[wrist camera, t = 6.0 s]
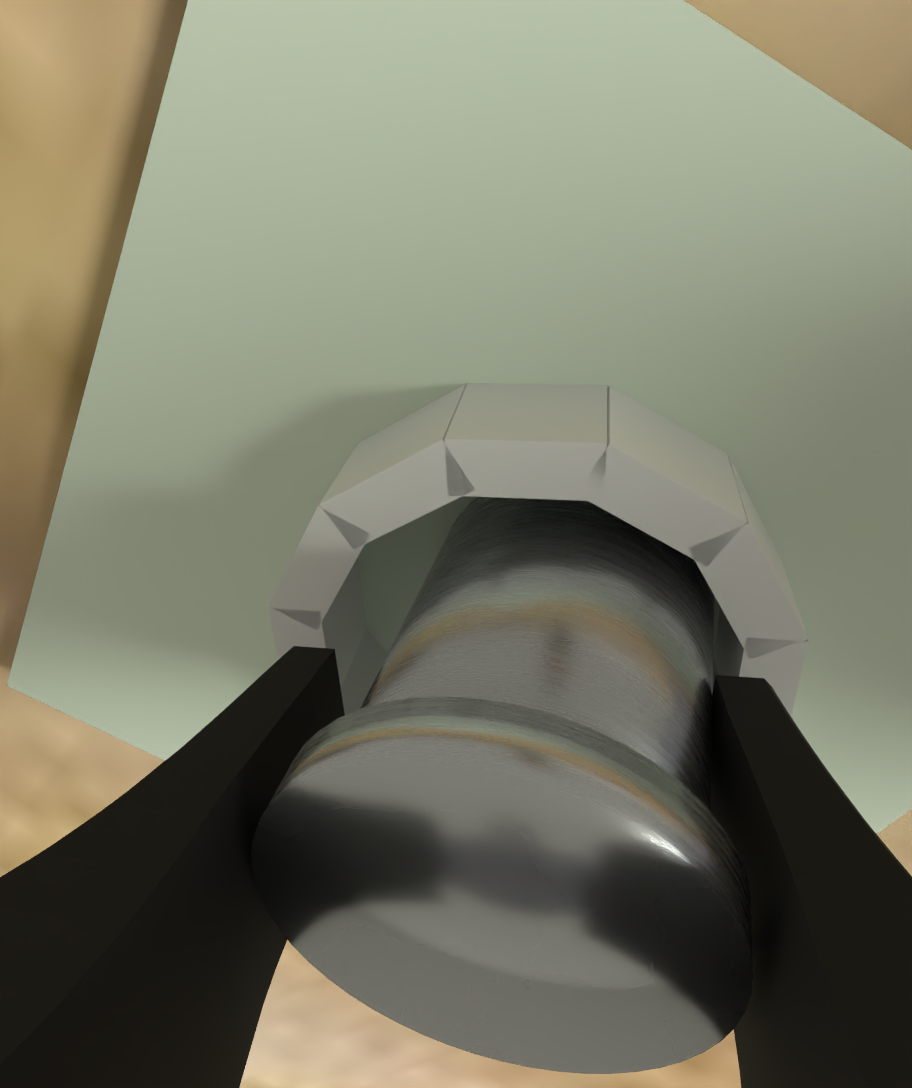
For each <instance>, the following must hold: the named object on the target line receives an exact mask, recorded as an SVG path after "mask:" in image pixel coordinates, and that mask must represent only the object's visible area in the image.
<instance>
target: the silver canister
mask: <svg viewBox="0 0 912 1088" xmlns="http://www.w3.org/2000/svg"><path fill="white" fill-rule="evenodd" d="M713 643H714V594H713V592H712V590H711V589H710V587H709V585H708V583H707V581H706V580H705V578H704V576H703V574H702V573H701V571H700V569H699V567H698V565H697V564H696V562H695V560H694V559H692V558H690V557H688V556H687V555H685V554H683V553H681V552H679V551H678V550H676V549H674V548H672V547H670V546H669V545H667V544H665V543H663V542H661V541H660V540H658V539H656V538H654V537H652V536H651V535H649V534H647V533H645V532H643V531H642V530H640V529H638V528H636V527H634V526H633V525H631V524H629V523H627V522H625V521H624V520H622V519H620V518H618V517H616V516H615V515H613V514H611V513H609V512H607V511H605V510H604V509H602V508H600V507H598V506H596V505H595V504H593V503H591V502H589V501H580V500H553V499H526V498H499V497H478V498H477V499H475V500H474V501H473V502H471V503H470V504H469V505H468V506H467V508H466V509H465V510H464V511H463V512H462V513H461V514H460V515H459V517H458V518H457V520H456V521H455V523H454V524H453V526H452V527H451V529H450V531H449V533H448V535H447V537H446V539H445V541H444V543H443V545H442V547H441V549H440V551H439V553H438V555H437V557H436V559H435V561H434V563H433V565H432V567H431V569H430V571H429V573H428V575H427V577H426V579H425V581H424V583H423V585H422V587H421V589H420V591H419V593H418V595H417V597H416V599H415V601H414V603H413V605H412V607H411V609H410V611H409V613H408V615H407V617H406V619H405V621H404V623H403V625H402V627H401V629H400V631H399V633H398V635H397V637H396V638H395V640H394V642H393V644H392V646H391V648H390V650H389V652H388V654H387V656H386V658H385V660H384V662H383V664H382V666H381V668H380V670H379V672H378V674H377V676H376V678H375V680H374V682H373V684H372V686H371V688H370V690H369V692H368V694H367V696H366V698H365V700H364V702H363V704H362V706H361V708H360V709H358V710H356V711H354V712H351V713H349V714H347V715H345V716H342V717H340V718H338V719H336V720H334V721H333V722H331V723H330V724H328V725H327V726H325V727H324V728H322V729H321V730H319V731H318V732H317V733H316V734H315V735H314V736H313V737H311V738H310V739H309V740H308V741H307V742H306V743H305V744H304V745H303V747H302V748H301V750H300V751H299V753H298V754H297V756H296V757H295V759H294V760H293V762H292V763H291V765H290V767H289V769H288V771H287V772H286V774H285V776H284V778H283V780H282V781H281V783H280V785H279V787H278V789H277V790H276V792H275V794H274V796H273V798H272V799H271V801H270V803H269V805H268V806H267V808H266V810H265V812H264V814H263V815H262V817H261V819H260V821H259V823H258V826H257V829H256V831H255V834H254V837H253V843H252V852H251V860H252V870H253V876H254V879H255V883H256V886H257V889H258V892H259V894H260V897H261V899H262V901H263V903H264V905H265V907H266V909H267V911H268V913H269V914H270V916H271V917H272V919H273V920H274V922H275V923H276V925H277V927H278V928H279V929H280V931H281V932H282V933H283V934H284V936H285V937H286V938H287V939H288V940H289V942H290V943H291V944H292V945H293V946H294V947H295V948H296V949H297V950H298V951H299V953H300V954H301V955H302V956H303V957H304V958H305V959H306V960H307V961H308V962H309V963H310V964H312V965H313V966H314V967H315V968H316V969H317V970H319V971H320V972H321V973H322V974H323V975H324V976H326V977H327V978H328V979H329V980H331V981H332V982H333V983H335V984H336V985H337V986H339V987H340V988H341V989H343V990H344V991H345V992H347V993H348V994H350V995H351V996H353V997H354V998H356V999H357V1000H359V1001H361V1002H362V1003H364V1004H365V1005H367V1006H368V1007H370V1008H372V1009H373V1010H375V1011H377V1012H379V1013H381V1014H382V1015H384V1016H386V1017H388V1018H390V1019H391V1020H393V1021H395V1022H397V1023H399V1024H401V1025H403V1026H405V1027H408V1028H410V1029H412V1030H414V1031H416V1032H418V1033H420V1034H423V1035H425V1036H427V1037H430V1038H432V1039H435V1040H437V1041H440V1042H442V1043H445V1044H447V1045H450V1046H453V1047H456V1048H459V1049H462V1050H465V1051H468V1052H471V1053H474V1054H477V1055H481V1056H484V1057H488V1058H491V1059H495V1060H499V1061H503V1062H507V1063H512V1064H517V1065H521V1066H526V1067H531V1068H538V1069H545V1070H551V1071H559V1072H572V1073H585V1074H613V1073H627V1072H638V1071H644V1070H650V1069H656V1068H661V1067H665V1066H668V1065H672V1064H675V1063H679V1062H682V1061H685V1060H687V1059H689V1058H692V1057H694V1056H696V1055H699V1054H701V1053H703V1052H705V1051H706V1050H708V1049H710V1048H711V1047H713V1046H714V1045H716V1044H717V1043H719V1042H720V1041H722V1040H723V1039H724V1038H725V1037H726V1036H727V1035H728V1034H729V1033H730V1032H731V1031H732V1030H733V1029H734V1028H735V1027H736V1025H737V1024H738V1022H739V1021H740V1019H741V1018H742V1016H743V1015H744V1013H745V1012H746V1009H747V1006H748V1003H749V1000H750V997H751V994H752V979H753V961H752V925H751V894H750V888H749V883H748V877H747V872H746V870H745V867H744V865H743V862H742V860H741V857H740V854H739V852H738V850H737V848H736V846H735V845H734V843H733V841H732V840H731V838H730V837H729V835H728V833H727V832H726V830H725V828H724V827H723V826H722V824H721V823H720V822H719V821H718V820H717V818H716V817H715V816H714V815H713V814H712V812H711V811H710V807H711V752H712V694H713Z"/></svg>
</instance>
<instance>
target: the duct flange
mask: <svg viewBox="0 0 912 1088" xmlns="http://www.w3.org/2000/svg"><path fill="white" fill-rule="evenodd" d="M478 497H499V498H526V499H553V500H580V501H589V502H591V503H593V504H595V505H596V506H598V507H600V508H602V509H604V510H605V511H607V512H609V513H611V514H613V515H615V516H616V517H618V518H620V519H622V520H624V521H625V522H627V523H629V524H631V525H633V526H634V527H636V528H638V529H640V530H642V531H643V532H645V533H647V534H649V535H651V536H652V537H654V538H656V539H658V540H660V541H661V542H663V543H665V544H667V545H669V546H670V547H672V548H674V549H676V550H678V551H679V552H681V553H683V554H685V555H687V556H688V557H690V558H692V559H694V560H695V562H696V564H697V565H698V567H699V569H700V571H701V573H702V574H703V576H704V578H705V580H706V581H707V583H708V585H709V587H710V589H711V590H712V592H713V594H714V643H713V688H714V681H715V675H723V676H738V677H752V678H764V679H765V680H766V681H767V682H768V683H769V684H770V685H771V686H772V688H773V689H774V691H775V692H776V694H777V696H778V697H779V699H780V700H781V702H782V704H783V705H784V707H785V708H786V710H787V711H788V713H789V714H790V716H791V718H792V719H793V721H794V722H795V724H796V725H797V727H798V728H799V730H800V731H801V733H802V734H803V736H804V737H805V738H806V740H807V741H808V743H809V744H810V746H811V747H812V749H813V750H814V752H815V753H816V754H817V756H818V757H819V759H820V760H821V762H822V763H823V764H824V766H825V767H826V769H827V770H828V771H829V773H830V774H831V775H832V777H833V778H834V780H835V781H836V782H837V784H838V785H839V786H840V787H841V789H842V790H843V791H844V793H845V794H846V795H847V797H848V798H849V799H850V801H851V802H852V803H853V805H854V806H855V807H856V809H857V810H858V811H859V813H860V814H861V815H862V817H863V818H864V819H865V820H866V822H867V823H868V824H869V826H870V827H871V828H872V829H873V831H874V832H875V833H876V834H877V833H879V832H880V831H882V830H883V829H884V828H886V827H887V826H888V825H890V824H891V823H893V822H894V821H895V820H897V819H898V818H899V817H901V816H902V815H904V814H905V813H906V812H908V811H909V810H910V809H912V150H911V149H910V148H908V147H907V146H905V145H904V144H902V143H901V142H899V141H898V140H896V139H895V138H893V137H892V136H890V135H888V134H887V133H885V132H884V131H882V130H881V129H879V128H878V127H876V126H875V125H873V124H872V123H870V122H869V121H867V120H866V119H864V118H862V117H861V116H859V115H858V114H856V113H855V112H853V111H852V110H850V109H849V108H847V107H846V106H844V105H843V104H841V103H840V102H838V101H836V100H835V99H833V98H832V97H830V96H829V95H827V94H826V93H824V92H823V91H821V90H820V89H818V88H817V87H815V86H814V85H812V84H810V83H809V82H807V81H806V80H804V79H803V78H801V77H800V76H798V75H797V74H795V73H794V72H792V71H791V70H789V69H788V68H786V67H784V66H783V65H781V64H780V63H778V62H777V61H775V60H774V59H772V58H771V57H769V56H768V55H766V54H765V53H763V52H762V51H760V50H758V49H757V48H755V47H754V46H752V45H751V44H749V43H748V42H746V41H745V40H743V39H742V38H740V37H739V36H737V35H736V34H734V33H732V32H731V31H729V30H728V29H726V28H725V27H723V26H722V25H720V24H719V23H717V22H716V21H714V20H713V19H711V18H710V17H708V16H706V15H705V14H703V13H702V12H700V11H699V10H697V9H696V8H694V7H693V6H691V5H690V4H688V3H687V2H685V1H684V0H188V2H187V6H186V10H185V14H184V17H183V21H182V25H181V29H180V33H179V36H178V40H177V44H176V48H175V51H174V55H173V59H172V63H171V67H170V70H169V74H168V78H167V82H166V86H165V89H164V93H163V97H162V101H161V104H160V108H159V112H158V116H157V120H156V123H155V127H154V131H153V135H152V138H151V142H150V146H149V150H148V154H147V157H146V161H145V165H144V169H143V172H142V176H141V180H140V184H139V188H138V191H137V195H136V199H135V203H134V206H133V210H132V214H131V218H130V222H129V225H128V229H127V233H126V237H125V240H124V244H123V248H122V252H121V256H120V259H119V263H118V267H117V271H116V274H115V278H114V282H113V286H112V290H111V293H110V297H109V301H108V305H107V308H106V312H105V316H104V320H103V324H102V327H101V331H100V335H99V339H98V343H97V346H96V350H95V354H94V358H93V361H92V365H91V369H90V373H89V377H88V380H87V384H86V388H85V392H84V395H83V399H82V403H81V407H80V411H79V414H78V418H77V422H76V426H75V429H74V433H73V437H72V441H71V445H70V448H69V452H68V456H67V460H66V463H65V467H64V471H63V475H62V479H61V482H60V486H59V490H58V494H57V497H56V501H55V505H54V509H53V513H52V516H51V520H50V524H49V528H48V531H47V535H46V539H45V543H44V547H43V550H42V554H41V558H40V562H39V565H38V569H37V573H36V577H35V581H34V584H33V588H32V592H31V596H30V600H29V603H28V607H27V611H26V615H25V618H24V622H23V626H22V630H21V634H20V637H19V641H18V645H17V649H16V652H15V656H14V660H13V664H12V668H11V671H10V675H9V679H8V683H7V686H8V687H10V688H12V689H14V690H17V691H19V692H21V693H23V694H25V695H27V696H29V697H31V698H33V699H36V700H38V701H40V702H42V703H44V704H46V705H48V706H50V707H52V708H55V709H57V710H59V711H61V712H63V713H65V714H67V715H69V716H72V717H74V718H76V719H78V720H80V721H82V722H84V723H86V724H88V725H91V726H93V727H95V728H97V729H99V730H101V731H103V732H105V733H107V734H110V735H112V736H114V737H116V738H118V739H120V740H122V741H124V742H127V743H129V744H131V745H133V746H135V747H137V748H139V749H141V750H143V751H146V752H148V753H150V754H152V755H154V756H156V757H158V758H160V759H162V760H165V761H166V760H167V759H168V758H169V757H170V756H172V755H173V754H174V753H175V752H177V751H178V750H179V749H180V748H181V747H182V746H184V745H185V744H186V743H187V742H188V741H189V740H190V739H192V738H193V737H194V736H195V735H196V734H197V733H198V732H200V731H201V730H202V729H203V728H204V727H205V726H206V725H207V724H209V723H210V722H211V721H212V720H213V719H214V718H215V717H216V716H218V715H219V714H220V713H221V712H222V711H223V710H224V709H225V708H226V707H228V706H229V705H230V704H231V703H232V702H233V701H234V700H235V699H236V698H237V697H238V696H240V695H241V694H242V693H243V692H244V691H245V690H246V689H247V688H248V687H249V686H250V685H251V684H252V683H254V682H255V681H256V680H257V679H258V678H259V677H260V676H261V675H262V674H263V673H264V672H265V671H267V670H268V669H269V668H270V667H271V666H272V665H273V664H274V663H275V662H276V661H277V660H279V659H280V658H281V657H282V656H283V655H284V654H285V653H286V652H288V651H289V650H290V649H291V648H292V647H293V646H301V647H316V648H331V649H335V654H336V660H337V667H338V673H339V680H340V687H341V693H342V700H343V706H344V713H345V715H347V714H349V713H351V712H354V711H356V710H358V709H360V708H361V706H362V704H363V702H364V700H365V698H366V696H367V694H368V692H369V690H370V688H371V686H372V684H373V682H374V680H375V678H376V676H377V674H378V672H379V670H380V668H381V666H382V664H383V662H384V660H385V658H386V656H387V654H388V652H389V650H390V648H391V646H392V644H393V642H394V640H395V638H396V637H397V635H398V633H399V631H400V629H401V627H402V625H403V623H404V621H405V619H406V617H407V615H408V613H409V611H410V609H411V607H412V605H413V603H414V601H415V599H416V597H417V595H418V593H419V591H420V589H421V587H422V585H423V583H424V581H425V579H426V577H427V575H428V573H429V571H430V569H431V567H432V565H433V563H434V561H435V559H436V557H437V555H438V553H439V551H440V549H441V547H442V545H443V543H444V541H445V539H446V537H447V535H448V533H449V531H450V529H451V527H452V526H453V524H454V523H455V521H456V520H457V518H458V517H459V515H460V514H461V513H462V512H463V511H464V510H465V509H466V508H467V506H468V505H469V504H470V503H471V502H473V501H474V500H475V499H477V498H478Z"/></svg>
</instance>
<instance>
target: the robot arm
mask: <svg viewBox="0 0 912 1088" xmlns="http://www.w3.org/2000/svg"><path fill="white" fill-rule="evenodd" d="M342 716H345V713H344V706H343V700H342V693H341V687H340V680H339V673H338V667H337V660H336V654H335V649H331V648H316V647H301V646H293V647H292V648H291V649H290V650H289V651H288V652H286V653H285V654H284V655H283V656H282V657H281V658H280V659H279V660H277V661H276V662H275V663H274V664H273V665H272V666H271V667H270V668H269V669H268V670H267V671H265V672H264V673H263V674H262V675H261V676H260V677H259V678H258V679H257V680H256V681H255V682H254V683H252V684H251V685H250V686H249V687H248V688H247V689H246V690H245V691H244V692H243V693H242V694H241V695H240V696H238V697H237V698H236V699H235V700H234V701H233V702H232V703H231V704H230V705H229V706H228V707H226V708H225V709H224V710H223V711H222V712H221V713H220V714H219V715H218V716H216V717H215V718H214V719H213V720H212V721H211V722H210V723H209V724H207V725H206V726H205V727H204V728H203V729H202V730H201V731H200V732H198V733H197V734H196V735H195V736H194V737H193V738H192V739H190V740H189V741H188V742H187V743H186V744H185V745H184V746H182V747H181V748H180V749H179V750H178V751H177V752H175V753H174V754H173V755H172V756H170V757H169V758H168V759H167V760H166V761H164V762H163V763H162V764H161V765H159V766H158V767H157V768H156V769H154V770H153V771H152V772H151V773H150V774H148V775H147V776H146V777H145V778H143V779H142V780H141V781H140V782H139V783H137V784H136V785H135V786H134V787H132V788H131V789H130V790H129V791H127V792H126V793H125V794H123V795H122V796H121V797H119V798H118V799H117V800H115V801H114V802H113V803H111V804H110V805H109V806H107V807H106V808H105V809H103V810H102V811H100V812H99V813H98V814H96V815H95V816H94V817H92V818H91V819H89V820H88V821H86V822H85V823H84V824H82V825H81V826H79V827H78V828H76V829H75V830H73V831H72V832H71V833H69V834H68V835H66V836H65V837H63V838H62V839H60V840H59V841H57V842H56V843H55V844H53V845H51V846H50V847H48V848H47V849H45V850H44V851H42V852H41V853H39V854H38V855H36V856H34V857H33V858H31V859H30V860H28V861H26V862H25V863H23V864H21V865H20V866H18V867H16V868H15V869H13V870H12V871H10V872H8V873H7V874H5V875H3V876H2V877H0V1088H239V1086H240V1083H241V1079H242V1076H243V1072H244V1069H245V1065H246V1062H247V1058H248V1055H249V1052H250V1048H251V1045H252V1041H253V1038H254V1034H255V1031H256V1027H257V1024H258V1021H259V1017H260V1014H261V1010H262V1007H263V1004H264V1001H265V998H266V995H267V992H268V989H269V986H270V983H271V981H272V978H273V975H274V972H275V969H276V967H277V964H278V962H279V959H280V956H281V954H282V951H283V949H284V946H285V944H286V941H287V938H286V937H285V936H284V934H283V933H282V932H281V931H280V929H279V928H278V927H277V925H276V923H275V922H274V920H273V919H272V917H271V916H270V914H269V913H268V911H267V909H266V907H265V905H264V903H263V901H262V899H261V897H260V894H259V892H258V889H257V886H256V883H255V879H254V876H253V870H252V860H251V852H252V843H253V837H254V834H255V831H256V829H257V826H258V823H259V821H260V819H261V817H262V815H263V814H264V812H265V810H266V808H267V806H268V805H269V803H270V801H271V799H272V798H273V796H274V794H275V792H276V790H277V789H278V787H279V785H280V783H281V781H282V780H283V778H284V776H285V774H286V772H287V771H288V769H289V767H290V765H291V763H292V762H293V760H294V759H295V757H296V756H297V754H298V753H299V751H300V750H301V748H302V747H303V745H304V744H305V743H306V742H307V741H308V740H309V739H310V738H311V737H313V736H314V735H315V734H316V733H317V732H318V731H319V730H321V729H322V728H324V727H325V726H327V725H328V724H330V723H331V722H333V721H334V720H336V719H338V718H340V717H342ZM710 811H711V812H712V814H713V815H714V816H715V817H716V818H717V820H718V821H719V822H720V823H721V824H722V826H723V827H724V828H725V830H726V832H727V833H728V835H729V837H730V838H731V840H732V841H733V843H734V845H735V846H736V848H737V850H738V852H739V854H740V857H741V860H742V862H743V865H744V867H745V870H746V872H747V877H748V883H749V888H750V894H751V925H752V961H753V979H752V994H751V997H750V1000H749V1003H748V1006H747V1009H746V1012H745V1013H744V1015H743V1016H742V1018H741V1019H740V1021H739V1022H738V1024H737V1025H736V1027H735V1028H734V1034H735V1041H736V1047H737V1054H738V1061H739V1068H740V1077H741V1088H912V876H911V875H910V874H909V873H908V872H907V870H906V869H905V868H904V867H903V866H902V864H901V863H900V862H899V861H898V860H897V859H896V857H895V856H894V855H893V854H892V853H891V851H890V850H889V849H888V848H887V847H886V845H885V844H884V843H883V842H882V841H881V839H880V838H879V837H878V836H877V834H876V833H875V832H874V831H873V829H872V828H871V827H870V826H869V824H868V823H867V822H866V820H865V819H864V818H863V817H862V815H861V814H860V813H859V811H858V810H857V809H856V807H855V806H854V805H853V803H852V802H851V801H850V799H849V798H848V797H847V795H846V794H845V793H844V791H843V790H842V789H841V787H840V786H839V785H838V784H837V782H836V781H835V780H834V778H833V777H832V775H831V774H830V773H829V771H828V770H827V769H826V767H825V766H824V764H823V763H822V762H821V760H820V759H819V757H818V756H817V754H816V753H815V752H814V750H813V749H812V747H811V746H810V744H809V743H808V741H807V740H806V738H805V737H804V736H803V734H802V733H801V731H800V730H799V728H798V727H797V725H796V724H795V722H794V721H793V719H792V718H791V716H790V714H789V713H788V711H787V710H786V708H785V707H784V705H783V704H782V702H781V700H780V699H779V697H778V696H777V694H776V692H775V691H774V689H773V688H772V686H771V685H770V684H769V683H768V682H767V681H766V680H765V679H764V678H752V677H738V676H723V675H715V681H714V688H713V694H712V752H711V807H710Z"/></svg>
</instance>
